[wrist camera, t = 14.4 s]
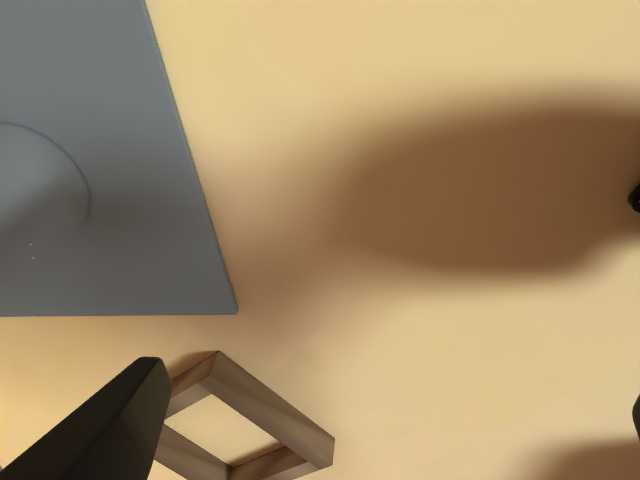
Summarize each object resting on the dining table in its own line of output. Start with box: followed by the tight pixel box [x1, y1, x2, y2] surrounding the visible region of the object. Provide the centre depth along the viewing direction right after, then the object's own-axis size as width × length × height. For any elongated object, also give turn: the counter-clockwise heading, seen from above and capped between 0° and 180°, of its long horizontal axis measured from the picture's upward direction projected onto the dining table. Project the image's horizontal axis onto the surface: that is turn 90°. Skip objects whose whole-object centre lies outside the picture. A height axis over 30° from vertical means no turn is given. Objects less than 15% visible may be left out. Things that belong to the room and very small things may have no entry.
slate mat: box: [0, 0, 238, 317], centre depth 22 cm, size 18×18×1 cm
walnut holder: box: [154, 351, 335, 480], centre depth 32 cm, size 11×11×2 cm
